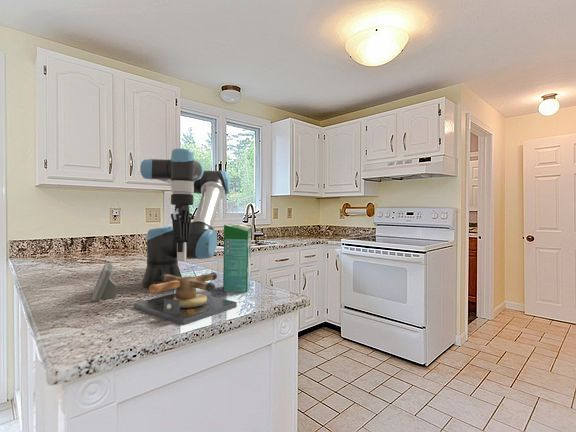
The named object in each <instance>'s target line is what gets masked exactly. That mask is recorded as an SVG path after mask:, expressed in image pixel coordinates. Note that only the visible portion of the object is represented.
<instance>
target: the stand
mask: <svg viewBox="0 0 576 432" xmlns="http://www.w3.org/2000/svg"><path fill="white" fill-rule="evenodd" d="M196 294H203V295H206V296H207V303H206V304H204V305H202V306H198V307H190V308H182V307H180V301H176V300H173V298H174V297H176V292H175V293H172V294H171V293H170V294H168V295H163V296H158V297H154V298H151V299H146V300H142V301H141V300H140V301H138V302H134V303H133V309H135V310H138V311H142V312H143V313H147V314H150V315H153V316H156V317H159V318H161V319H165V320H167V321H171V322H174V323H176V324H179V325H182V326H184V325H185V326H186V325H187V324H190V323H193V322H197V321H199V320H203V319H206V318H209V317H212V316H215V315H217V314H220V313H222V312H227V311H229V310H232V309H234V308H238V306H237V305H238V302H237V301H233V300H229V299H226V298H221V297H216V296H213V295H208V294H204V293H200V292H196Z"/></svg>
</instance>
